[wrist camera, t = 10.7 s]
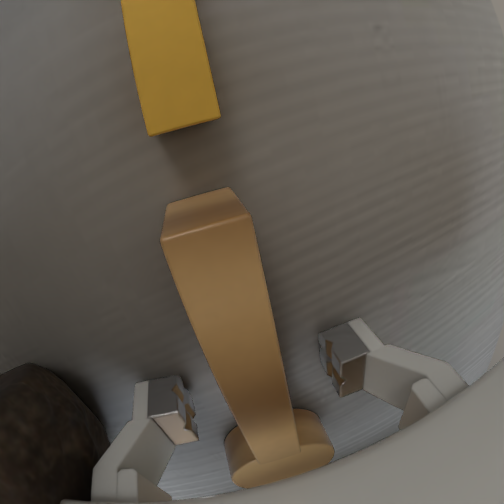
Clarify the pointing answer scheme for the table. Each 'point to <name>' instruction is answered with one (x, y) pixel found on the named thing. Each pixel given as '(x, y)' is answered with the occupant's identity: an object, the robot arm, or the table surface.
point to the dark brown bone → (45, 439)
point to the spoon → (240, 337)
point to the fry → (169, 64)
